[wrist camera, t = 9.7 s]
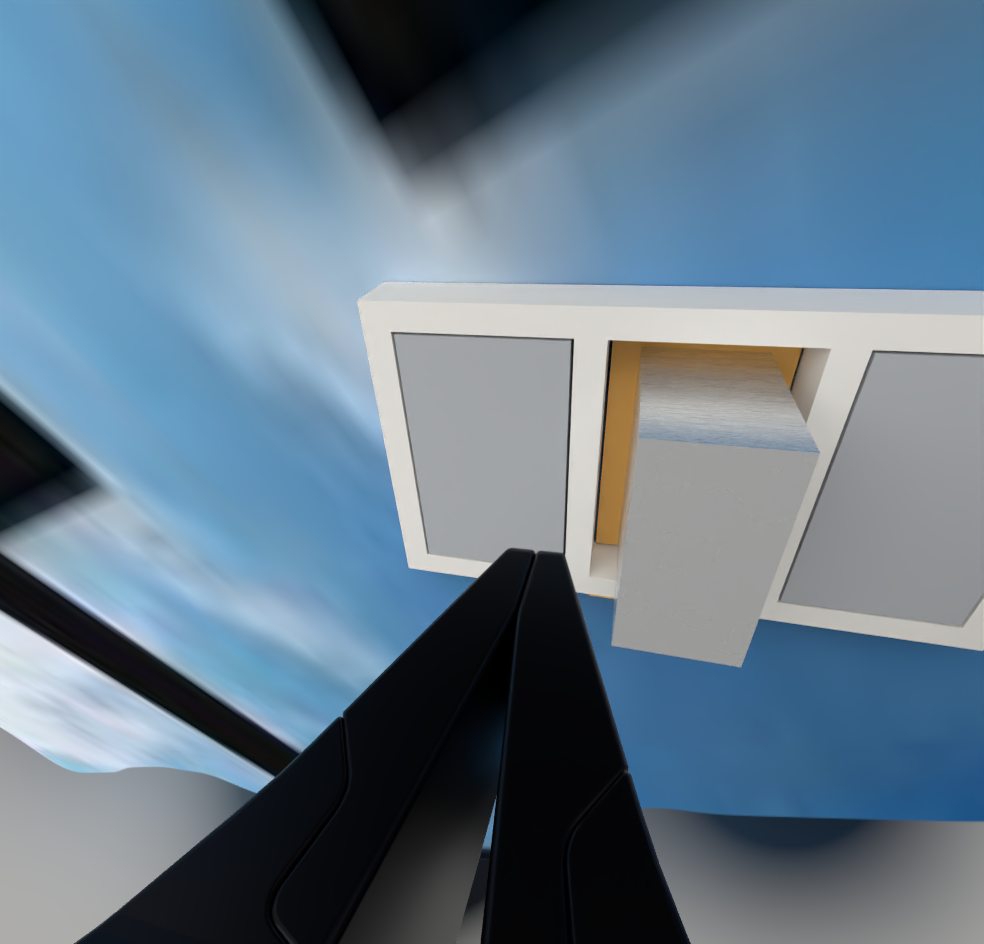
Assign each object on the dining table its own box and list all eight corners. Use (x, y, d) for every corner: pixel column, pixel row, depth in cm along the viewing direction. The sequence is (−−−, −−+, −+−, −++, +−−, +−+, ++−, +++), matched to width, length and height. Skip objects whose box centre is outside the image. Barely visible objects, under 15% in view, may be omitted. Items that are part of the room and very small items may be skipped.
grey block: (771, 352, 17) (819, 453, 12) (720, 540, 21) (741, 667, 16) (641, 346, 18) (638, 438, 13) (619, 528, 22) (611, 645, 17)
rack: (1160, 293, 14) (1234, 321, 12) (950, 609, 21) (978, 655, 19) (384, 281, 19) (357, 300, 17) (426, 540, 26) (410, 572, 24)
